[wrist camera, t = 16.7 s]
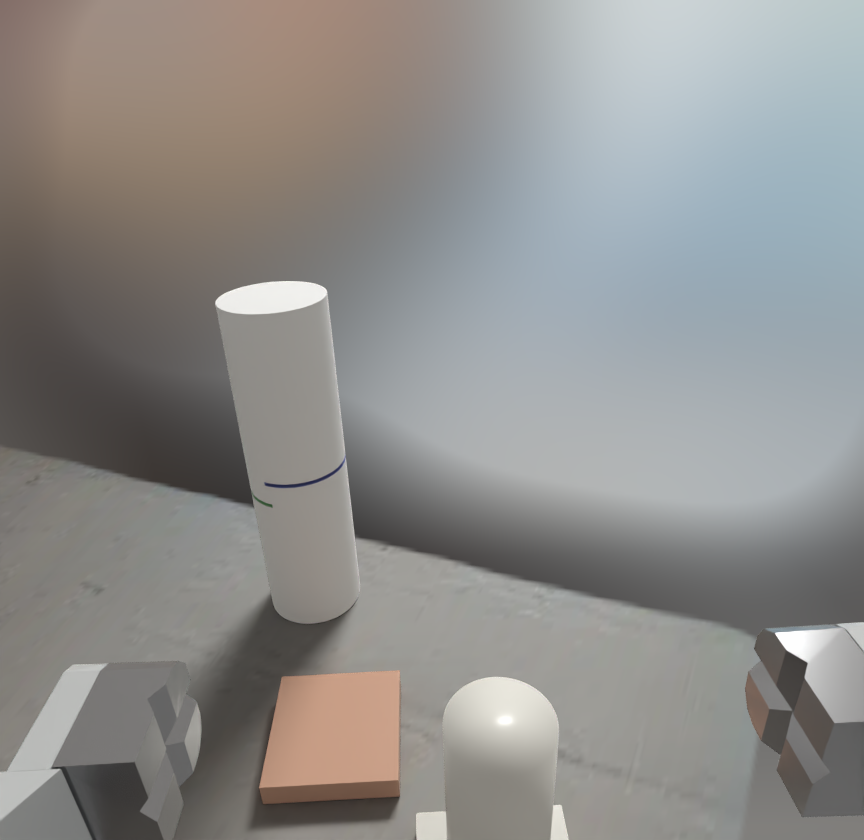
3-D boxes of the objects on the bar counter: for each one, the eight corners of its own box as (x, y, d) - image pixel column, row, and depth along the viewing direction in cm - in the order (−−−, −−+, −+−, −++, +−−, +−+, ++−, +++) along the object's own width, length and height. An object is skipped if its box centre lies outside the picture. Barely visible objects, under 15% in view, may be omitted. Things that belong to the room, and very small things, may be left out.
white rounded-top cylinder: (449, 948, 31) (443, 782, 26) (444, 839, 36) (437, 678, 30) (557, 942, 31) (573, 775, 26) (538, 834, 36) (548, 672, 30)
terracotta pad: (263, 804, 39) (259, 787, 39) (284, 692, 46) (282, 676, 46) (399, 796, 39) (398, 780, 39) (400, 686, 47) (399, 670, 46)
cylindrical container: (342, 629, 52) (300, 316, 40) (257, 616, 53) (193, 311, 42) (371, 569, 58) (342, 282, 46) (294, 559, 59) (247, 279, 48)
